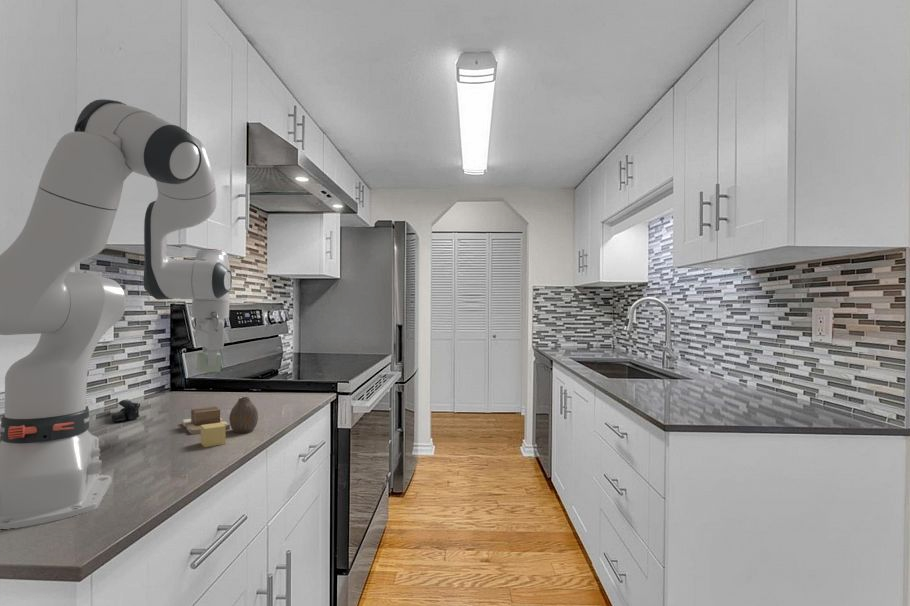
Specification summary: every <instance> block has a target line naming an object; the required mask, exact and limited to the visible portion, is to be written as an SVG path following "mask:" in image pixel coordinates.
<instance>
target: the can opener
mask: <svg viewBox="0 0 910 606" xmlns="http://www.w3.org/2000/svg"><path fill="white" fill-rule="evenodd" d="M118 405H119V406H121V407H122V408H121V409H120V410H119V411H118V412H115V413H113V414H112V415H111V420H112V421H113V422H115V423H117V422H124V421H132V420H133V421H134V420H135V419H137V418H139V417H140V414H139V413H140V411H139V409H140V408H141V402H132V401H131V400H129V398H128V399H122V400H120V401H118Z"/></svg>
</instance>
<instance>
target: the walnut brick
mask: <svg viewBox="0 0 910 606" xmlns="http://www.w3.org/2000/svg"><path fill="white" fill-rule="evenodd" d="M220 418H221V409H220V408H218V407H217V406H216V405H213V406H204V407H197V408H195V407H193V408H191V409H190V419H191V422H192V423H193V424H194V425H195V426H200V425H205V424H213V423H220Z"/></svg>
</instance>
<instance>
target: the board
mask: <svg viewBox="0 0 910 606" xmlns="http://www.w3.org/2000/svg"><path fill="white" fill-rule="evenodd" d="M181 423H182V425H183V426H184V428H185V427H186V428H185V429H186V430H187V431H188V432H189V433H190V435H198V434H201V425H200V426H195V425H194V424H193V423H192V422H191V418H186V419H185V418H184V419H182V422H181ZM220 423H222V424H224V425H225V426H226V430H227V431H228V430H230V429H231V426H230V423H228V422H227V421H225V420H224V419H223V418H221V417H220Z"/></svg>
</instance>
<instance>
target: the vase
mask: <svg viewBox="0 0 910 606" xmlns="http://www.w3.org/2000/svg"><path fill="white" fill-rule="evenodd" d="M228 419H229V425H230V429H231V430H233V432H234V433H236V434H246V433H250V432H252V431H254V430H255V428H256V427H257V424H258V422H259V413H258V408H257V407H256V406H255V404H253V402H252V400H251V399H250V397H249V396H244V397H243V396H241V397H239V398H238V400H237V402H236V403H235V405H234V406H233V407H232V408H231V409H230V414H229V417H228Z"/></svg>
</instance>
